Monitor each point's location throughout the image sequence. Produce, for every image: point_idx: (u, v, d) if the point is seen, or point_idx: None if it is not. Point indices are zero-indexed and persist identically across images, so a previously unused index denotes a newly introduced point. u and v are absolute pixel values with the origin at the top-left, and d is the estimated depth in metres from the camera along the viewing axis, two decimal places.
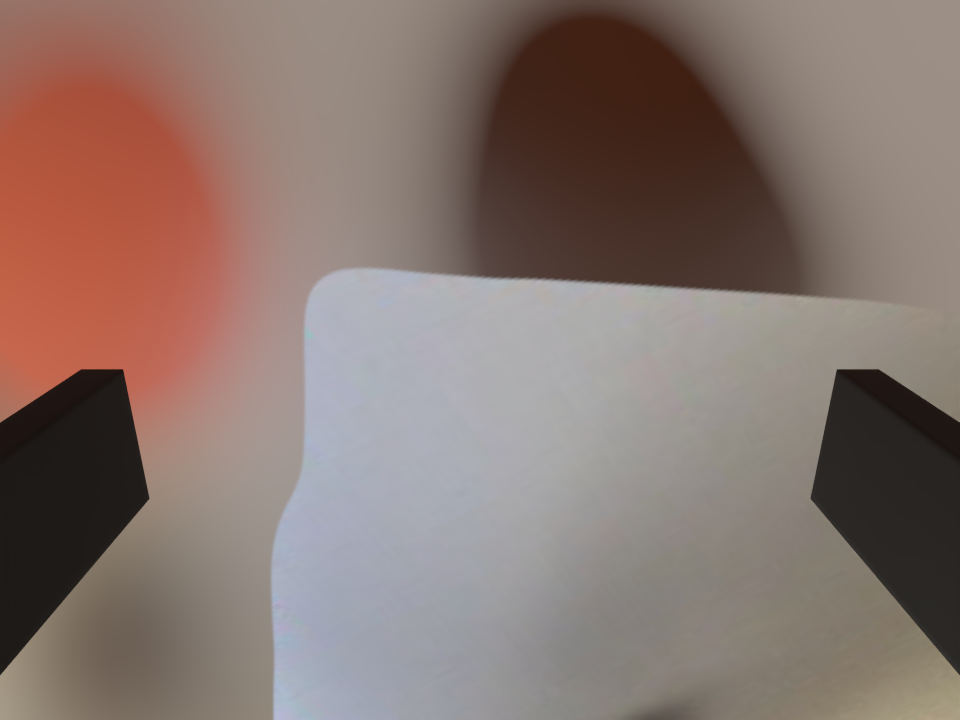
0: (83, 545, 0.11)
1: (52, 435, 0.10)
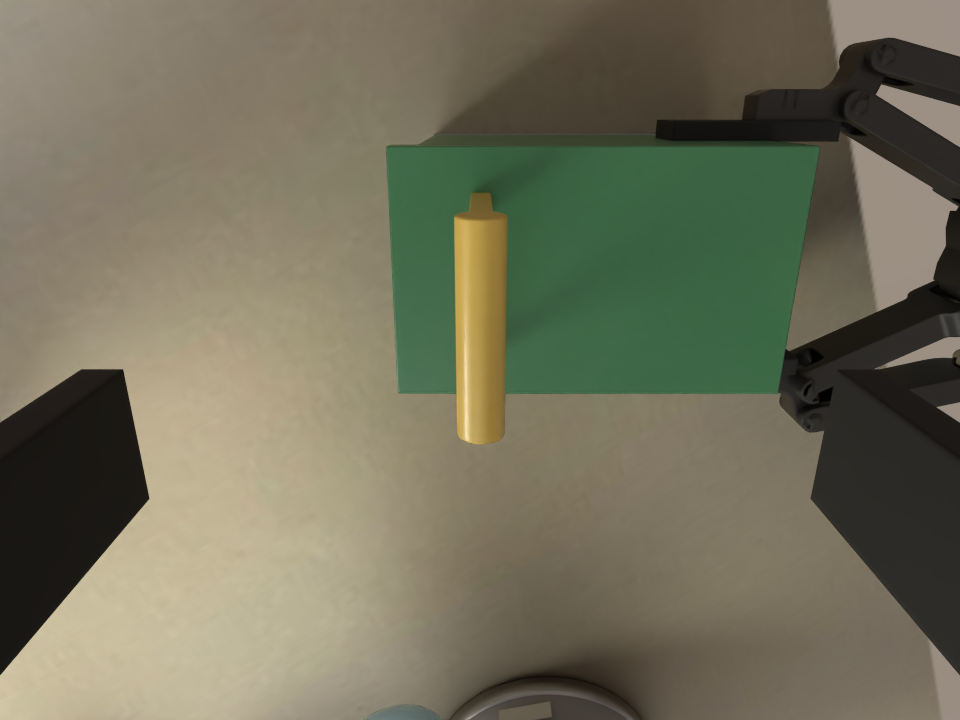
0: (83, 545, 0.11)
1: (53, 435, 0.10)
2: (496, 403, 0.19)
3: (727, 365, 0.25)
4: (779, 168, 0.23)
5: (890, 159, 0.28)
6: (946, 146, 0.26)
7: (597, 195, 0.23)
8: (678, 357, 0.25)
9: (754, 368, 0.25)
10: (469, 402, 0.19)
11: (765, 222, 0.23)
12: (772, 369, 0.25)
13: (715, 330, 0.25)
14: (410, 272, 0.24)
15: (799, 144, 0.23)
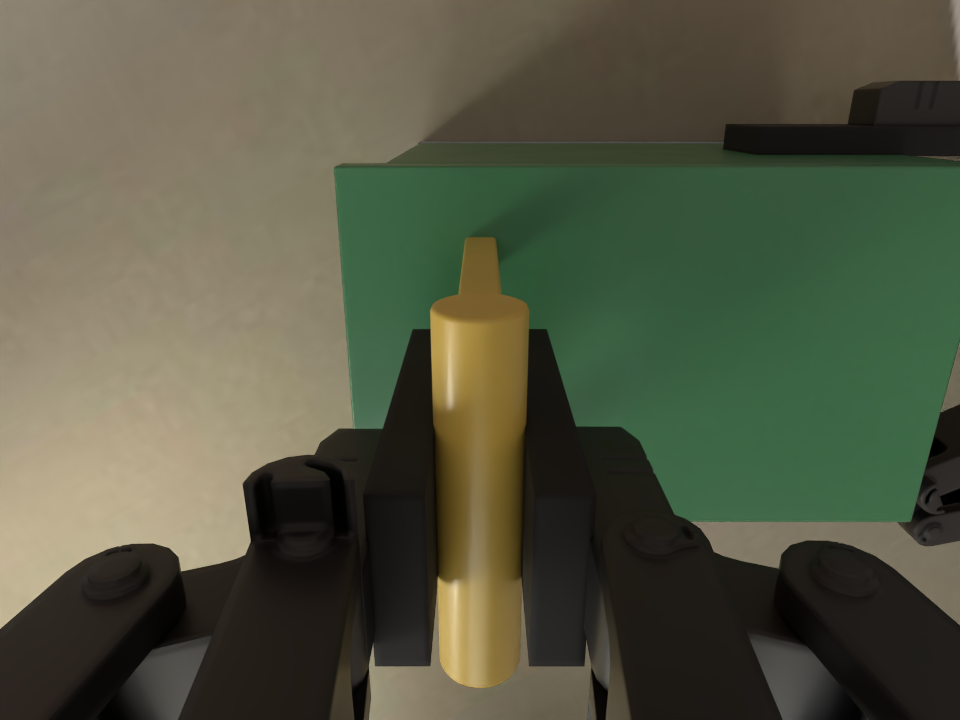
0: None
1: None
2: (507, 623, 0.11)
3: (840, 483, 0.17)
4: (940, 200, 0.15)
5: None
6: None
7: (658, 241, 0.15)
8: (769, 472, 0.17)
9: (880, 487, 0.17)
10: (459, 624, 0.11)
11: (912, 281, 0.15)
12: (906, 489, 0.17)
13: (826, 435, 0.17)
14: (375, 353, 0.16)
15: None
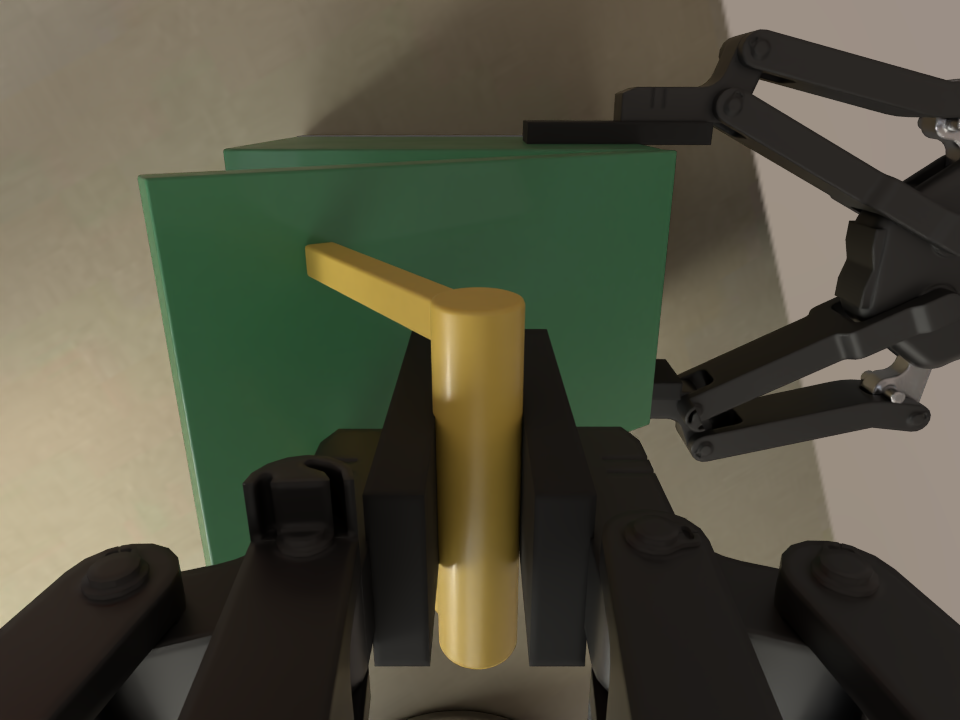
0: None
1: None
2: (516, 592, 0.11)
3: (608, 407, 0.22)
4: (646, 178, 0.20)
5: (779, 164, 0.26)
6: (832, 150, 0.24)
7: (472, 229, 0.17)
8: None
9: (631, 403, 0.22)
10: (483, 609, 0.11)
11: (636, 240, 0.20)
12: (645, 400, 0.23)
13: (597, 372, 0.21)
14: (215, 388, 0.14)
15: (652, 148, 0.21)
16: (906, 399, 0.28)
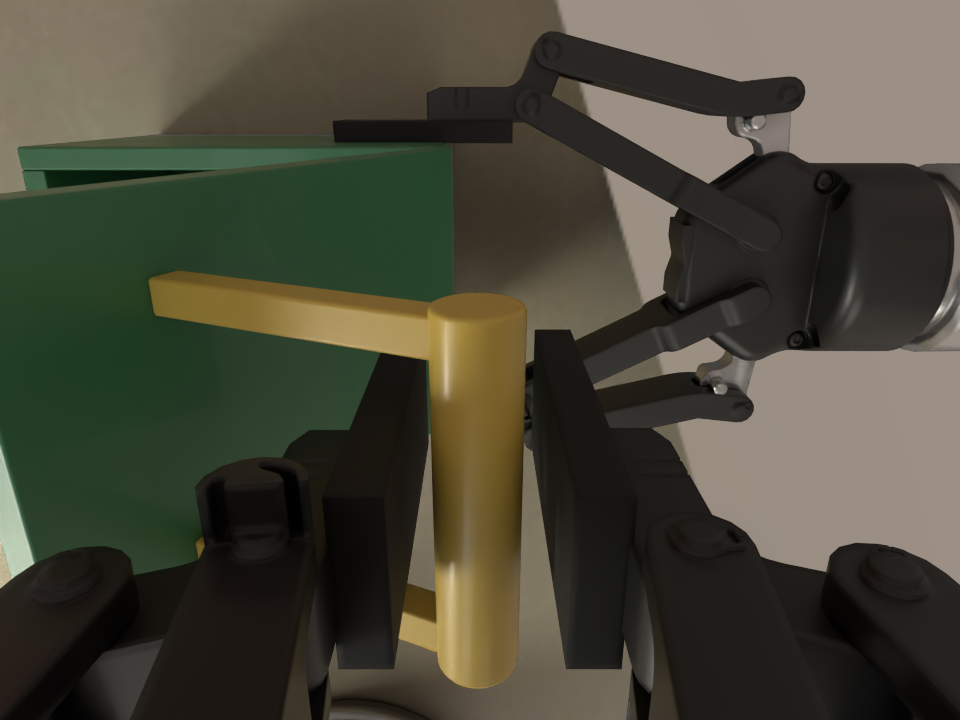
0: (420, 472, 0.13)
1: (416, 376, 0.12)
2: None
3: (427, 403, 0.22)
4: (433, 175, 0.20)
5: None
6: (631, 148, 0.25)
7: (307, 239, 0.15)
8: None
9: None
10: (504, 621, 0.11)
11: (431, 237, 0.21)
12: None
13: None
14: (60, 482, 0.11)
15: (432, 146, 0.22)
16: (731, 391, 0.29)
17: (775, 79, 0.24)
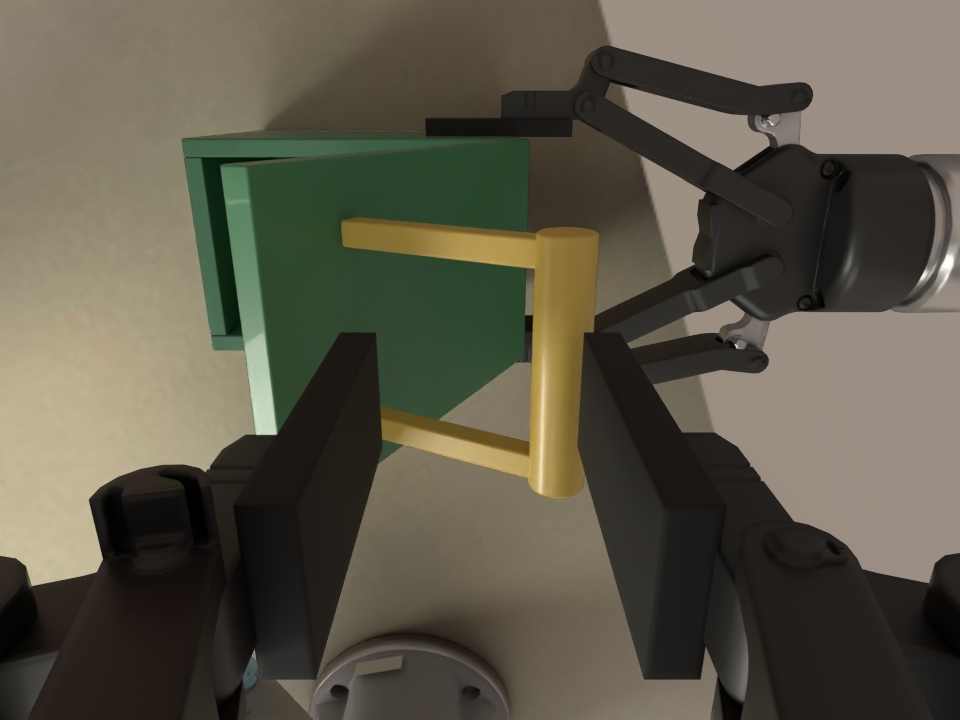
0: (366, 477, 0.13)
1: (358, 381, 0.12)
2: None
3: (503, 345, 0.27)
4: (515, 160, 0.26)
5: None
6: (669, 141, 0.30)
7: (430, 203, 0.21)
8: (482, 351, 0.26)
9: (514, 340, 0.28)
10: (576, 449, 0.16)
11: (512, 210, 0.26)
12: (521, 337, 0.29)
13: (497, 316, 0.26)
14: (289, 349, 0.16)
15: (512, 138, 0.27)
16: (750, 347, 0.34)
17: (788, 84, 0.29)
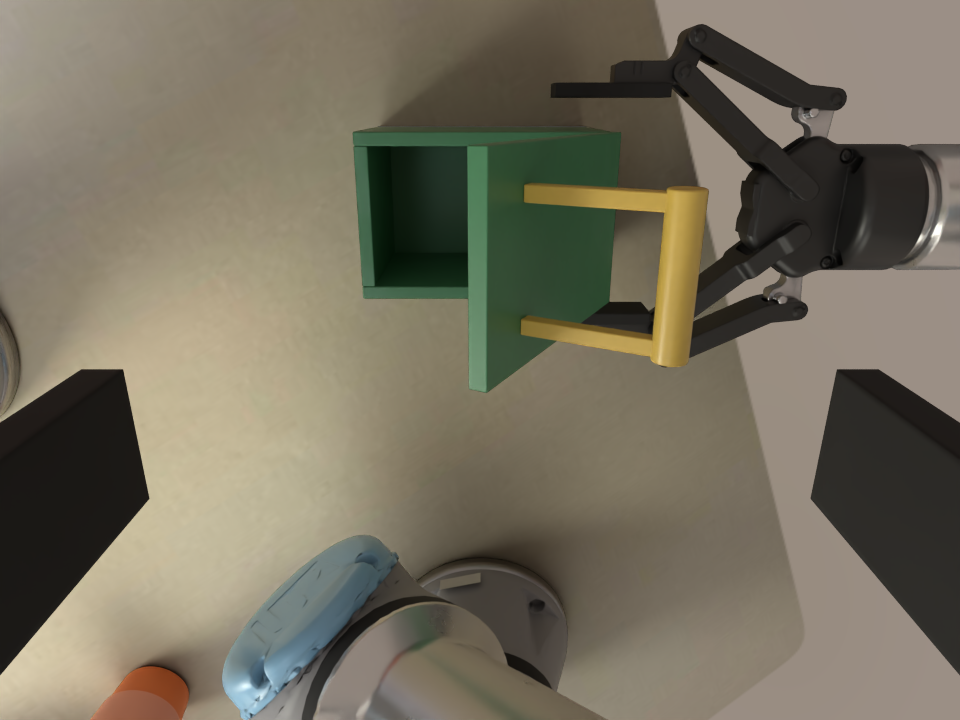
0: (83, 545, 0.11)
1: (52, 435, 0.10)
2: None
3: (598, 290, 0.36)
4: (612, 148, 0.34)
5: (708, 121, 0.40)
6: (738, 114, 0.38)
7: (566, 177, 0.29)
8: (586, 292, 0.34)
9: (604, 287, 0.37)
10: (687, 333, 0.24)
11: (608, 185, 0.34)
12: (608, 286, 0.37)
13: (595, 266, 0.35)
14: (495, 268, 0.25)
15: (606, 131, 0.35)
16: (790, 300, 0.42)
17: (830, 87, 0.37)
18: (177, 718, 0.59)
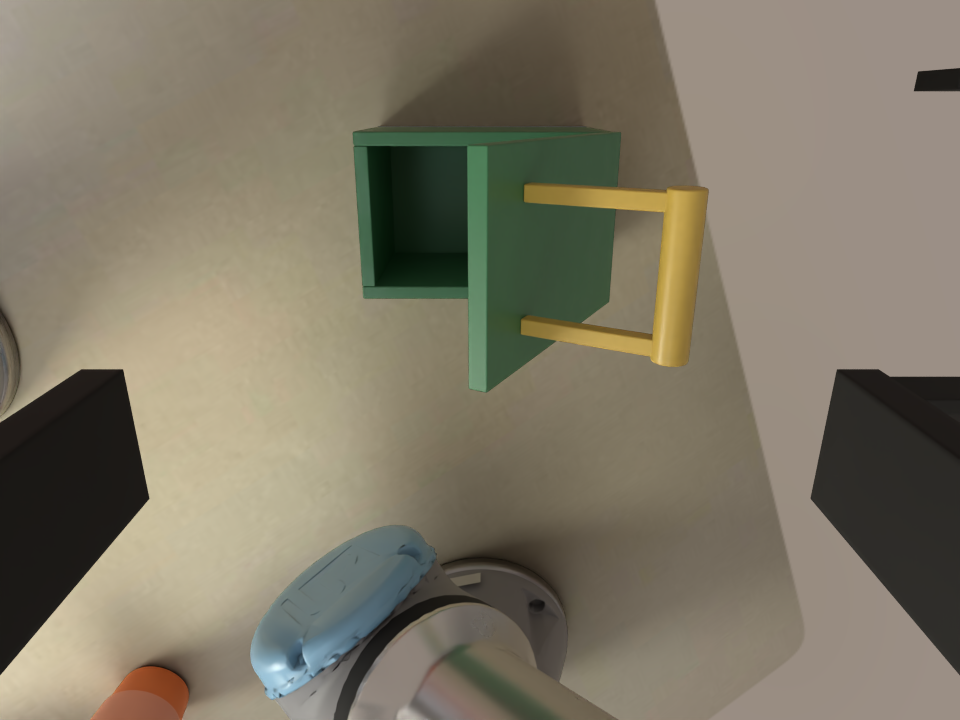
0: (83, 545, 0.11)
1: (52, 435, 0.10)
2: None
3: (598, 290, 0.36)
4: (612, 148, 0.34)
5: None
6: None
7: (566, 176, 0.29)
8: (586, 292, 0.34)
9: (604, 287, 0.37)
10: (687, 333, 0.24)
11: (608, 185, 0.34)
12: (608, 285, 0.37)
13: (595, 266, 0.35)
14: (495, 268, 0.25)
15: (606, 131, 0.35)
16: None
17: None
18: (177, 718, 0.59)
